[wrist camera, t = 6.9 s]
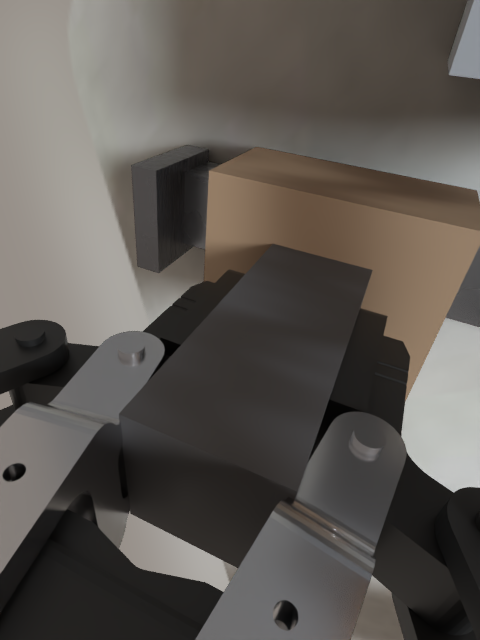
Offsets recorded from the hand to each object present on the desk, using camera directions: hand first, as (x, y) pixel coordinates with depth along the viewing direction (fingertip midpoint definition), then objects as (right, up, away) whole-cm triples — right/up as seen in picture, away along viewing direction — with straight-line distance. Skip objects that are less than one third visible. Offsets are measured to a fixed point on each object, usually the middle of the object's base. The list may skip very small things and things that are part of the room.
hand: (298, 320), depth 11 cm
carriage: (+3, +4, +5) cm, 7 cm away
